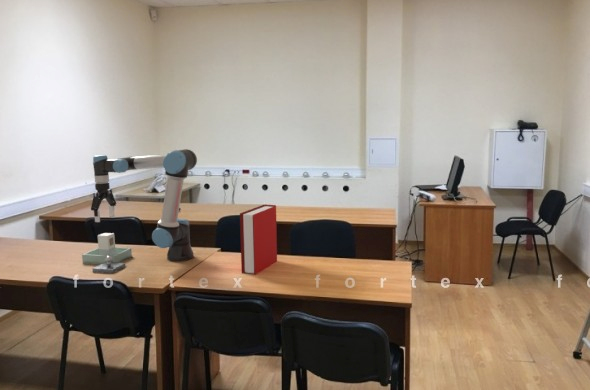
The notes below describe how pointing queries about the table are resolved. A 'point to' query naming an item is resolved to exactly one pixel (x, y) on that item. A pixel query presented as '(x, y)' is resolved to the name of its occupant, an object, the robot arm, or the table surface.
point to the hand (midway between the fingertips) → (105, 219)
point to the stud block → (108, 266)
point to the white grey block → (106, 244)
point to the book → (258, 238)
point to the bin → (95, 258)
